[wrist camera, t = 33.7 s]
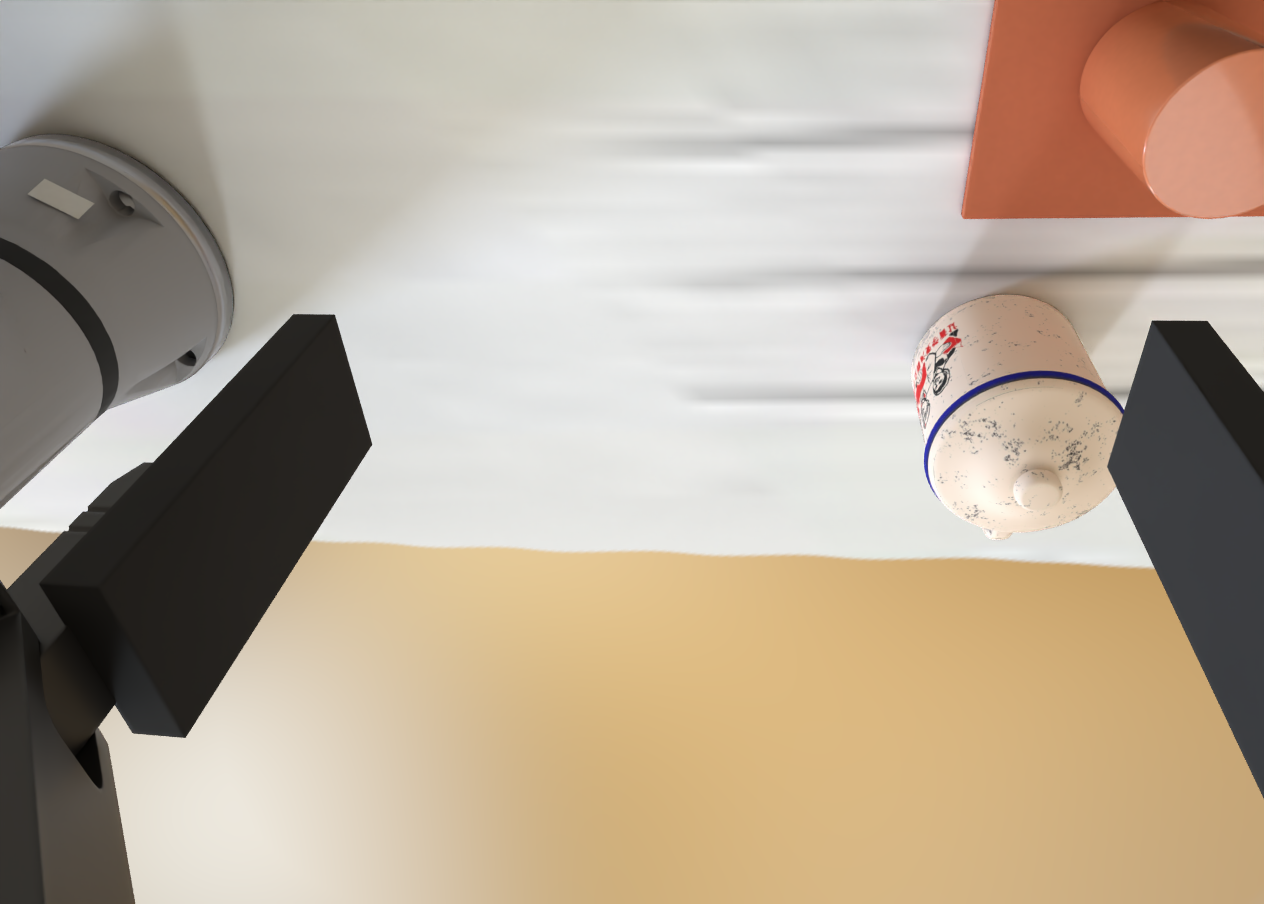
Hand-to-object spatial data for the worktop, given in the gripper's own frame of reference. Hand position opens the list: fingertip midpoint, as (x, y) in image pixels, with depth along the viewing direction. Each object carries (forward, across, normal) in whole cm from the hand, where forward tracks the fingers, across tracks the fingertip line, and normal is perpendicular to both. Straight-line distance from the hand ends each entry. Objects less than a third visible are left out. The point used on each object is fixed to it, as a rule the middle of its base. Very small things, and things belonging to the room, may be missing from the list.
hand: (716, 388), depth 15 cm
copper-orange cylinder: (+31, -17, +3) cm, 36 cm away
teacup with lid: (+32, -13, +19) cm, 40 cm away
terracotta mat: (+32, -17, +4) cm, 36 cm away
